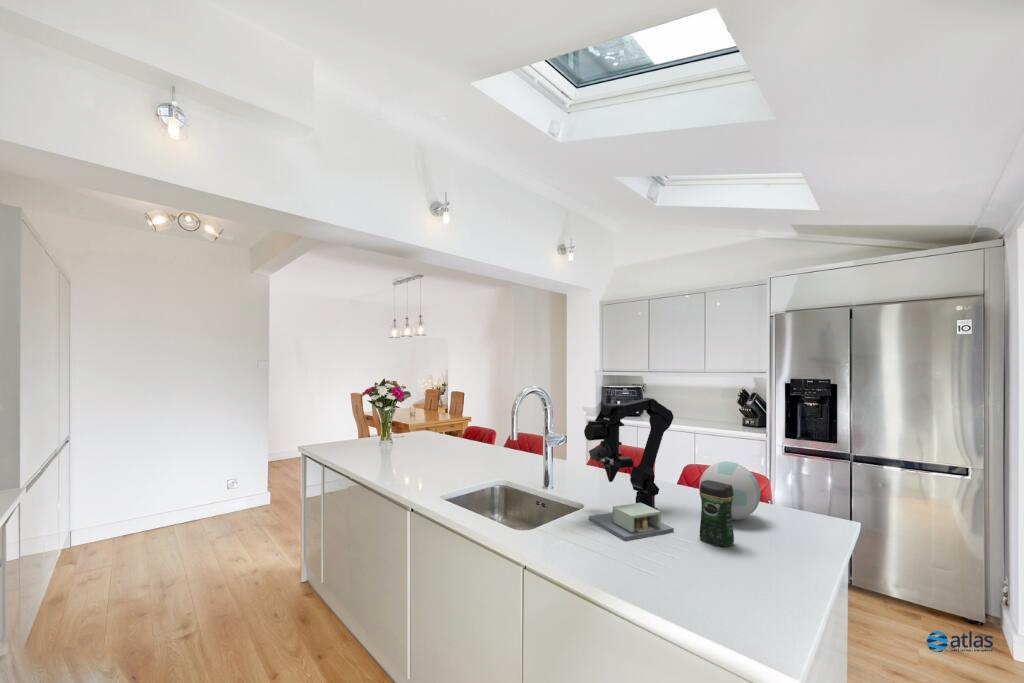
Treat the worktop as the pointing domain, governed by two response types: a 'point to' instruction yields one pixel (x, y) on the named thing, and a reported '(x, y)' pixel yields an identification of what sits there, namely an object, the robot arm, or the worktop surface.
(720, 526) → the coffee jar
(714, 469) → the volleyball
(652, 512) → the housing
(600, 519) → the board
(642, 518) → the block
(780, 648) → the worktop surface
